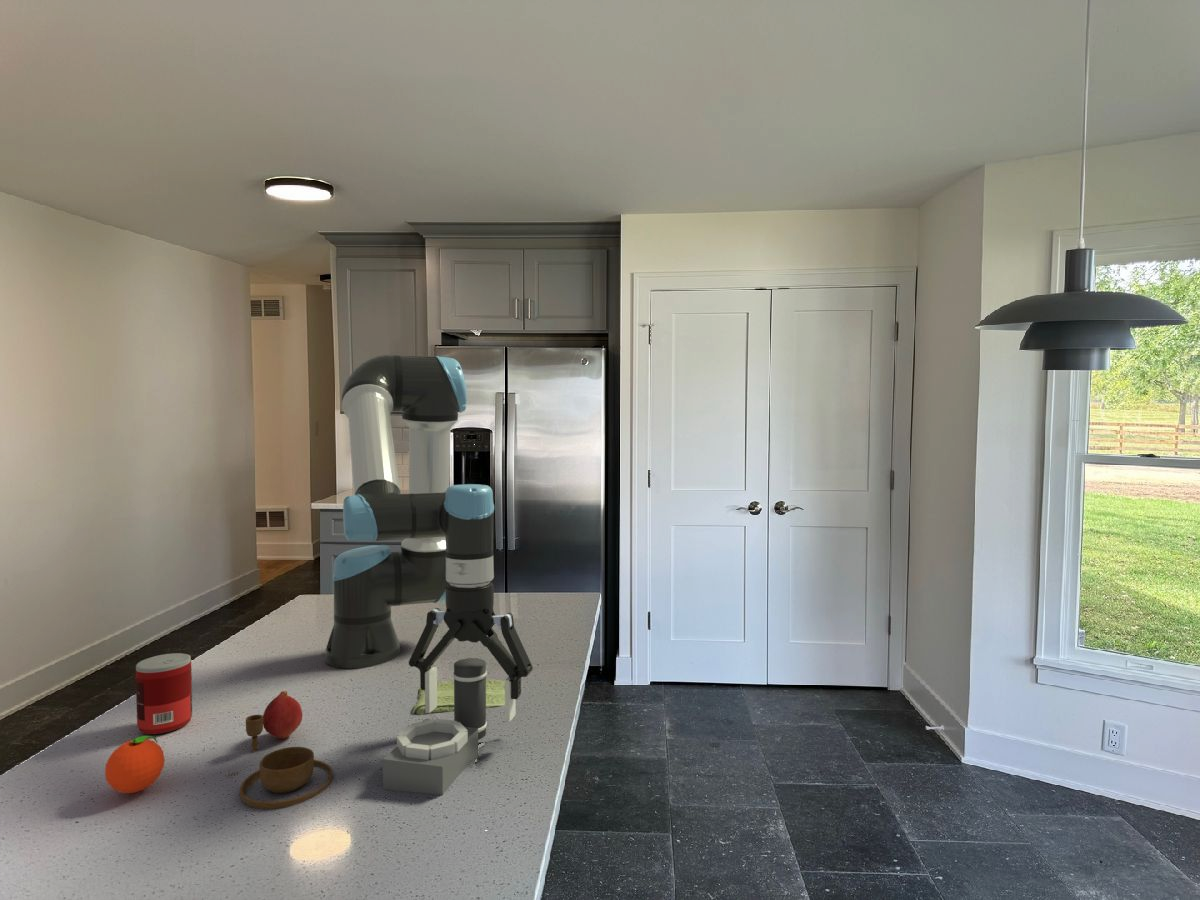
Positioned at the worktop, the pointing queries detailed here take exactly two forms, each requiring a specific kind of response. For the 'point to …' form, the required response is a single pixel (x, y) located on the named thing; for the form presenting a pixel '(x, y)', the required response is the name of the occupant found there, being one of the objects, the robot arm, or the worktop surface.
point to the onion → (282, 716)
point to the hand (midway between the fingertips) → (470, 714)
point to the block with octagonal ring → (429, 756)
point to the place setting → (281, 770)
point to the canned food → (164, 693)
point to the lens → (470, 694)
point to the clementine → (134, 765)
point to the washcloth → (446, 697)
